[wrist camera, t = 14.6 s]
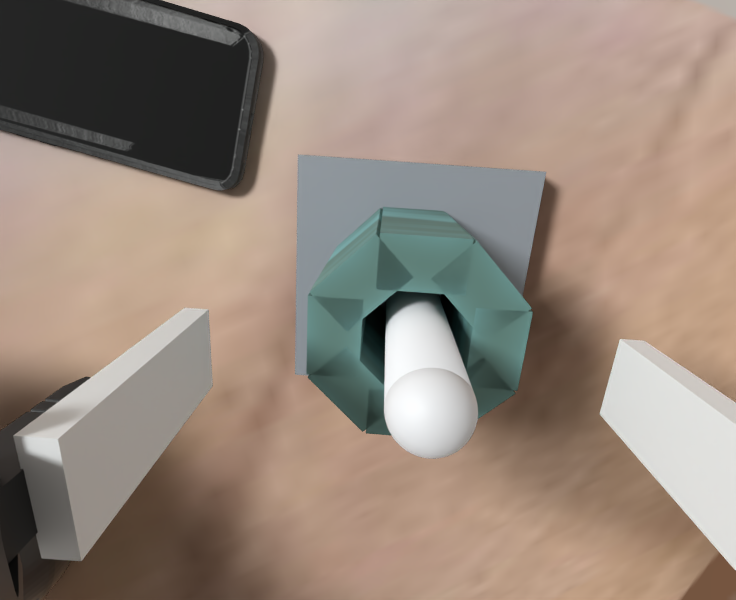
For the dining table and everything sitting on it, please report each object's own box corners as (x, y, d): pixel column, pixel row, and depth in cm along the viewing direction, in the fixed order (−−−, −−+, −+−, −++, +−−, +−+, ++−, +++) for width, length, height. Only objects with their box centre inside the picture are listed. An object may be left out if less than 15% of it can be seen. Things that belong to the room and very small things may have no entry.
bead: (332, 342, 24) (305, 428, 16) (337, 203, 21) (308, 227, 14) (468, 352, 23) (507, 444, 16) (489, 213, 21) (546, 244, 13)
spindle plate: (300, 362, 26) (196, 600, 12) (303, 155, 22) (156, 146, 8) (497, 378, 26) (628, 641, 12) (535, 171, 22) (798, 190, 8)
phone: (-61, -66, 19) (262, 30, 20) (-37, -54, 20) (269, 37, 21) (-52, 117, 22) (234, 198, 22) (-31, 119, 23) (242, 196, 23)
